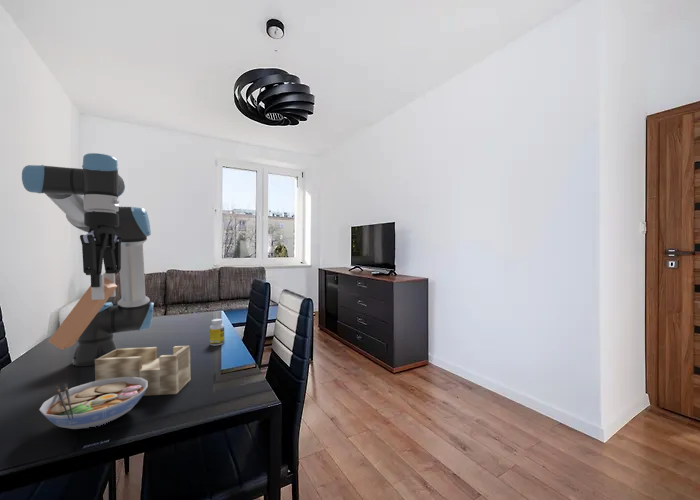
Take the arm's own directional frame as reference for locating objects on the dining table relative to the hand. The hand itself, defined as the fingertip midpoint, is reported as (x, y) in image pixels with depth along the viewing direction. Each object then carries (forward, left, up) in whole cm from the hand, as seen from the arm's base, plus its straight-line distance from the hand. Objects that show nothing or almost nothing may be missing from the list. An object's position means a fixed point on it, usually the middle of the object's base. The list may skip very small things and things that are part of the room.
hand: (104, 297), depth 87 cm
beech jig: (+1, +18, -33) cm, 38 cm away
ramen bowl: (-1, -1, -33) cm, 33 cm away
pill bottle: (+9, +66, -33) cm, 74 cm away
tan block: (-4, 0, -5) cm, 6 cm away
